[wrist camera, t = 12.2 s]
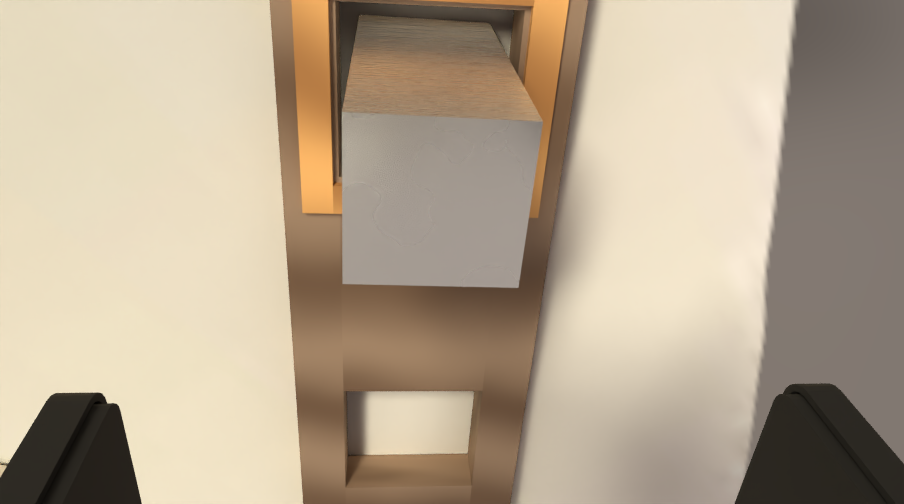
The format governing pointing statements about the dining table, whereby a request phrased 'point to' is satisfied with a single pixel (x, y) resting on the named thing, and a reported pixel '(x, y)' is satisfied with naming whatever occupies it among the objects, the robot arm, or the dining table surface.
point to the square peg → (435, 156)
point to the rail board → (402, 306)
